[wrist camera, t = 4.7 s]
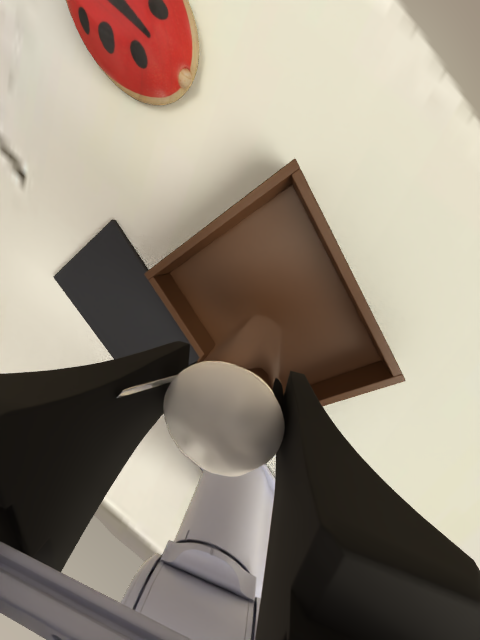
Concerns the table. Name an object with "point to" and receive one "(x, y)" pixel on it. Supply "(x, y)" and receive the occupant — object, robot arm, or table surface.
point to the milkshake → (229, 400)
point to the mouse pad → (118, 296)
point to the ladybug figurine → (141, 44)
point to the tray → (279, 289)
